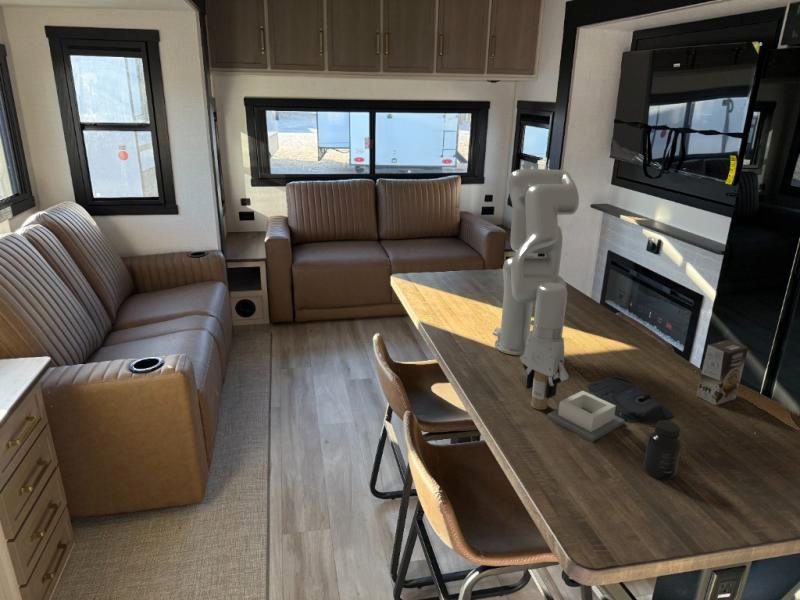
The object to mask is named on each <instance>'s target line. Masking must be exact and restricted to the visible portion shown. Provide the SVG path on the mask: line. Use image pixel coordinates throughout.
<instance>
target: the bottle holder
mask: <svg viewBox="0 0 800 600" xmlns="http://www.w3.org/2000/svg"><path fill="white" fill-rule="evenodd" d="M558 405H559V406H558V408H557V409H554V410H553V411H551V412H549V413H547V414H546V418H547V419H548V420H551V421H552V422H555V423H557V425H558V424H559V425H561V427H564V428H565V429H568V430H569V431H572V432H573V433H574V434H577V435H579V436H581V437H583V438H585V439H587V440H588V441H590V442H592V443H593V442H595V441H597V440H598V439H601V437H603V436H605V435H607V434H609V433H611V432H612V431H615V430H616V429H618V428H619V427H621V426H622V425H625V423H626V421H625V420H623V419H621V418H619V417H617V416H616V415H614V414H615V408H616V406H615V405H613V404H611V403H609V402H607V401H604V400H602V399H600V398H598V397H596V396H595V395H594V394H591V393H589V392H587V391H584V390H581V391H579V392H577V393H575V394H574V393H573V394H572V395H570V396H568V397H566V398H564V399H562V400H560V401H559V404H558Z"/></svg>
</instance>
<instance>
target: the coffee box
mask: <svg viewBox="0 0 800 600" xmlns="http://www.w3.org/2000/svg"><path fill="white" fill-rule="evenodd" d="M748 350H749V347H748V346H747V345H743V344H741V343H737V342H734V341H731V340H729V339H725V340H722V341H718V342H714V343H710V344H707V348H706V352H705V356H704V357H705V358H704V360H703V365H702V370H701V375H700V378H699V382H698V386H697V390H696V397H698V398H701V399H702V400H704V401H706V402H708V403H710V404H712V405H714V406H718V405H720V404H724V403H727V402H731V401H733V400H736V398H737V394H738V391H739V387H740V382H741V379H742V374H743V370H744V366H745V362H746V359H747V355H748Z"/></svg>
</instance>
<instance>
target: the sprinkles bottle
mask: <svg viewBox="0 0 800 600" xmlns="http://www.w3.org/2000/svg"><path fill="white" fill-rule="evenodd" d="M548 384H549V379H548V376H546V375H543V374H541V373H539V372H537V371H535V373H534V380H533V387H532V391H531V395H532V396H531V402H530V406H531V407H532V408H533V409H536V410H538V411H543V410H546V409H547V408H548V404H549V403H548V401H549V399H548V398H546V391H547V385H548Z"/></svg>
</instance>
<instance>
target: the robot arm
mask: <svg viewBox="0 0 800 600" xmlns="http://www.w3.org/2000/svg"><path fill="white" fill-rule="evenodd" d="M507 185H508V193H509V197H510V198H509V199H510V202H511V206H512V215H511V227H510V239H509V241H510V242H509V243H510V247H511V249H512V251H514V252H515V254H514V255H513V256H510V257H509V258H507V259H506V260H505V261H504V263H503V266H502V274H503V301H502V310H501V311H502V312H501V324H500V328H499V327H496V328H495V329H494V331H493V332H492V335H493V336H496V337H497V339H496V340H495V342H494V347H495V348H496V350H498V351H499V352H501V353H504V354H508V355H512V356H513V355H514V356H519V360H520V361H521V363H522V366H523V368H524V370H525V374H526V375H527V376H526V389H528V390H529V389H533V380H534V373H535V371H537V372H539V373H541V374H543V375H546V376H548V379H549V384H548V385H547V391H546V398H548V400H549V399H550V398H552V397H554V396H556V393H557V387H558V386H557V385H558V384H560V383H561V382H563V381H565V380H567V379H569V378H570V375H569V374H568V372H567V370H566V368H565V366H564V365H565V341H564V340H565V339H564V337H563V331H564V325H565V323H564V322H565V317H566V315H565V314H566V308H567V307H566V306H567V300H568V299H567V298H568V289H567V283H566V281H565V279H564V278H563V277H562V276H560V269H561V257H562V249H563V232H562V228H561V227H560V225H559V224H558V222H559V221H558V216H559V215H560V216H561V215H563V216H565V215H566V216H568V215H569V216H570V215H574V214H576V212H577V211H578V209H579V204H580V196H579V191H578V188H577V186H576V183H575V181H574V179H573V178H572V176H571V174H570V173H569V172H568V171H566V170H562V169H547V168H546V169H540V168H522V169H516V170H514V171H512V172H511V173H510V175H509V178H508V181H507ZM529 254H544V256H532V255H529ZM528 255H529V256H528ZM534 304H535V306H534V307H535V308H534V317H533V319H532V316H533V315H532V314H533V305H534ZM531 326H532V330H531ZM559 374H560V375H559Z"/></svg>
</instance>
